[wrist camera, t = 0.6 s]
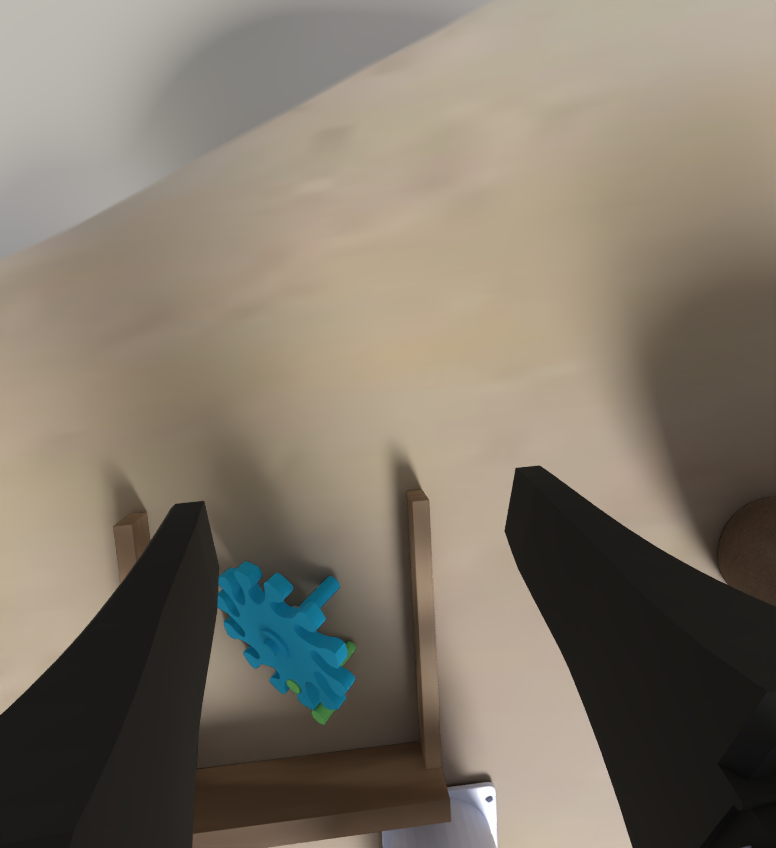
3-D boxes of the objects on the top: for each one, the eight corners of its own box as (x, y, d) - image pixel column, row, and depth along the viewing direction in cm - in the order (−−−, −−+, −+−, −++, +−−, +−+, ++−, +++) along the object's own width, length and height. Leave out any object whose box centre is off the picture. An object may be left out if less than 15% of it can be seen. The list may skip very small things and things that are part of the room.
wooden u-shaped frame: (435, 759, 37) (451, 821, 32) (164, 794, 35) (137, 865, 30) (422, 489, 34) (437, 512, 30) (129, 513, 33) (93, 541, 28)
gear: (181, 569, 32) (291, 589, 26) (254, 513, 36) (364, 519, 30) (257, 708, 35) (371, 757, 29) (316, 642, 39) (427, 672, 33)
